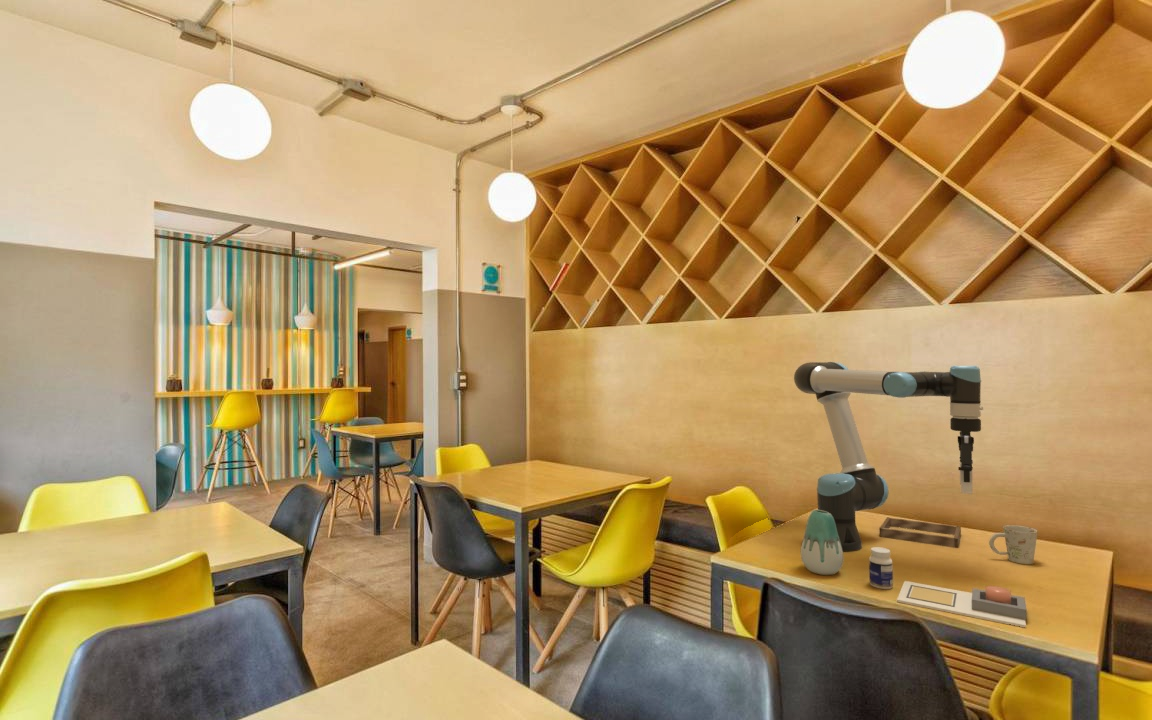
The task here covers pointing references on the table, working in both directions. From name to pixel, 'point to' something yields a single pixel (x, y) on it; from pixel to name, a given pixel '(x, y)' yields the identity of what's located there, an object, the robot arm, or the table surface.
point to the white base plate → (964, 603)
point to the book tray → (921, 537)
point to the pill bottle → (880, 568)
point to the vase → (821, 544)
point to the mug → (1017, 543)
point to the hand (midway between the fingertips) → (965, 489)
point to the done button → (998, 594)
